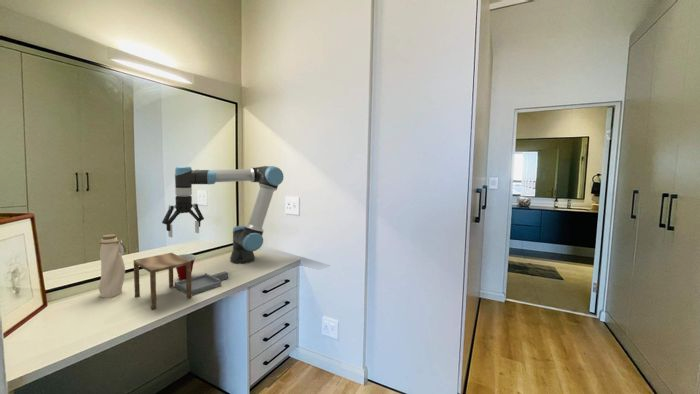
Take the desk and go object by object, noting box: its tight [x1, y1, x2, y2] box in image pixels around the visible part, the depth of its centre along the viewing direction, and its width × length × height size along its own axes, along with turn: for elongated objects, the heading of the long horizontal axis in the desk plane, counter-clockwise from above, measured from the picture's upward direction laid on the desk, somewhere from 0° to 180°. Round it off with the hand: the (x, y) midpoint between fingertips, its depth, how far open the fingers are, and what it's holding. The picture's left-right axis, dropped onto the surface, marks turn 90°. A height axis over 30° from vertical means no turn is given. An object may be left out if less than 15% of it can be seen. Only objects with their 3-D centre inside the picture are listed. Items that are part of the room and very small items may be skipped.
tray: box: [174, 271, 229, 296], centre depth 150 cm, size 24×16×3 cm, turn 144°
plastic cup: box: [175, 253, 197, 281], centre depth 157 cm, size 11×11×12 cm
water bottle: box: [98, 233, 127, 298], centre depth 134 cm, size 10×9×28 cm
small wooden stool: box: [133, 252, 192, 311], centre depth 133 cm, size 16×20×17 cm
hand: (184, 234), depth 155 cm, fingers open, 13 cm apart
